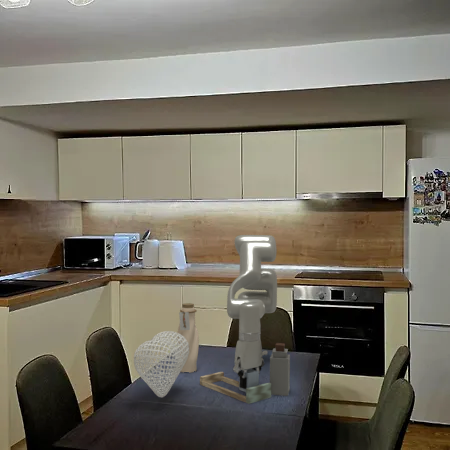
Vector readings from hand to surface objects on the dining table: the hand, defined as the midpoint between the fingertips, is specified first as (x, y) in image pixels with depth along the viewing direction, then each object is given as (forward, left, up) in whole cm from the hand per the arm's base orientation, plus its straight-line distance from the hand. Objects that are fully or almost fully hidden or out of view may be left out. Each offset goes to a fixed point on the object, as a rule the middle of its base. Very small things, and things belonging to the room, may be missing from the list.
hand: (248, 386), depth 200 cm
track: (0, -8, -4) cm, 9 cm away
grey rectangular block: (0, 0, -2) cm, 2 cm away
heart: (+25, -19, -4) cm, 32 cm away
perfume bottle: (-12, +4, -4) cm, 13 cm away
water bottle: (-2, -40, -4) cm, 40 cm away
